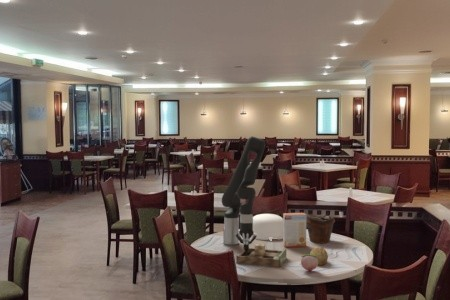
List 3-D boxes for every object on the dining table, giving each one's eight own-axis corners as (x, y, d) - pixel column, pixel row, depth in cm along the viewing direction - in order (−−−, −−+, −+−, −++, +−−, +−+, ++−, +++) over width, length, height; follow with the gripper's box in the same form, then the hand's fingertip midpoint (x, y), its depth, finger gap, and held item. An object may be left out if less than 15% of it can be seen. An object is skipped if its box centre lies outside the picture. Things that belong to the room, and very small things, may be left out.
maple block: (254, 254, 287) (254, 245, 286) (256, 251, 292) (256, 243, 291) (263, 254, 285) (263, 246, 285) (265, 252, 290) (265, 244, 290)
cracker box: (304, 244, 320) (304, 212, 318) (306, 247, 314) (306, 214, 312) (282, 244, 318) (282, 212, 317) (284, 247, 312) (284, 214, 311)
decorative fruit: (316, 268, 270) (316, 250, 269) (319, 273, 262) (319, 254, 261) (298, 268, 270) (299, 250, 269) (301, 273, 261) (301, 254, 261)
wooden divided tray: (236, 262, 280) (236, 252, 279) (244, 254, 297) (244, 244, 297) (280, 267, 272) (280, 256, 272) (286, 258, 290) (286, 247, 289)
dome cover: (298, 235, 345) (299, 215, 344) (271, 243, 324) (271, 221, 323) (263, 227, 368) (263, 208, 367) (235, 234, 347) (235, 214, 346)
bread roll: (323, 258, 290) (323, 244, 289) (330, 266, 275) (330, 251, 274) (307, 258, 289) (307, 245, 288) (313, 266, 274) (313, 252, 273)
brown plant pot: (341, 241, 327) (341, 214, 326) (319, 246, 316) (319, 218, 315) (321, 236, 342) (321, 210, 341) (299, 240, 330) (299, 214, 329)
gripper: (233, 221, 288) (233, 251, 289) (255, 223, 284) (255, 253, 285) (237, 219, 295) (237, 248, 296) (258, 220, 291) (258, 249, 292)
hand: (246, 250), depth 291 cm, fingers closed
